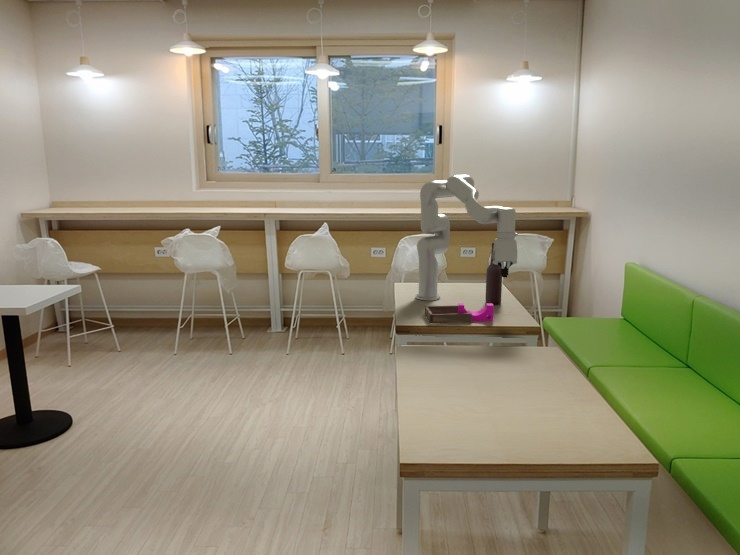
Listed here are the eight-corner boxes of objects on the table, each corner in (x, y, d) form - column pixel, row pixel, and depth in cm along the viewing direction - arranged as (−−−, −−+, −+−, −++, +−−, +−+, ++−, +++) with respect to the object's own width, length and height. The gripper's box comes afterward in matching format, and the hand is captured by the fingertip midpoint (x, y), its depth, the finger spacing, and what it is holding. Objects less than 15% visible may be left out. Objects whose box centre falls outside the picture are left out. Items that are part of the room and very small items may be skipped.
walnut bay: (424, 314, 269) (424, 306, 268) (463, 313, 270) (463, 305, 269) (430, 323, 255) (430, 314, 254) (471, 322, 256) (471, 313, 255)
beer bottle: (495, 300, 293) (498, 241, 287) (503, 304, 286) (506, 243, 280) (482, 302, 291) (484, 242, 285) (490, 305, 284) (492, 244, 278)
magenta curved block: (490, 318, 264) (491, 301, 262) (493, 322, 258) (493, 305, 256) (457, 317, 264) (457, 301, 263) (458, 321, 258) (459, 305, 257)
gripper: (519, 234, 261) (517, 274, 265) (486, 235, 260) (485, 275, 263) (525, 236, 254) (523, 278, 257) (491, 237, 252) (490, 279, 256)
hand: (504, 276), depth 260 cm, fingers closed
